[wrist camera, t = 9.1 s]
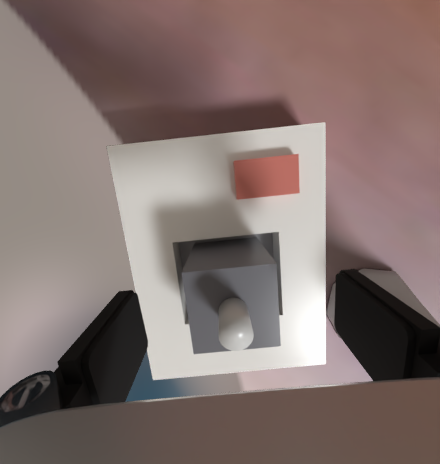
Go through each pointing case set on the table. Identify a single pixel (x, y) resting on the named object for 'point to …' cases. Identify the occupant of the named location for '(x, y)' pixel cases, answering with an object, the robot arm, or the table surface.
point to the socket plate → (226, 235)
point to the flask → (390, 284)
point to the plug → (231, 296)
